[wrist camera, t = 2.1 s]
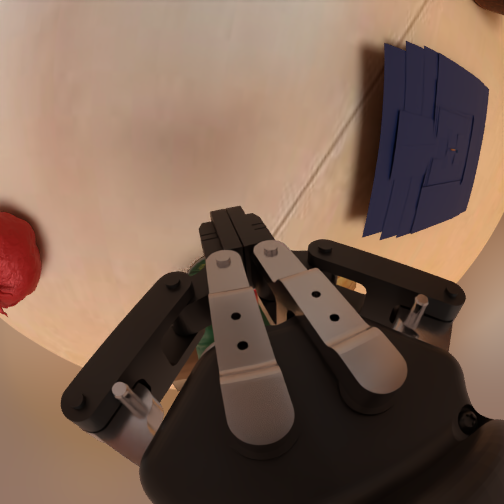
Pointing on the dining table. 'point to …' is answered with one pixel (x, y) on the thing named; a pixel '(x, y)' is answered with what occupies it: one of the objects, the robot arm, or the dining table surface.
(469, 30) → the dining table surface
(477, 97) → the navy folded cloth
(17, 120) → the dining table surface
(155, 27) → the dining table surface
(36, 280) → the pomegranate
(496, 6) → the case
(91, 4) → the dining table surface
